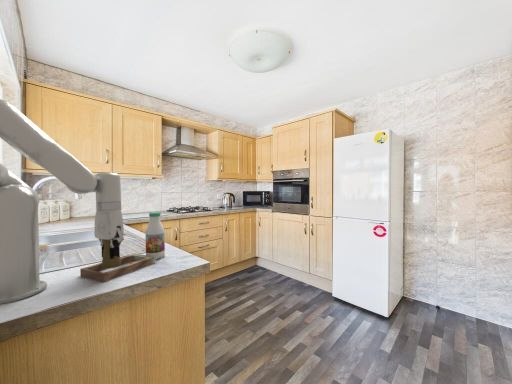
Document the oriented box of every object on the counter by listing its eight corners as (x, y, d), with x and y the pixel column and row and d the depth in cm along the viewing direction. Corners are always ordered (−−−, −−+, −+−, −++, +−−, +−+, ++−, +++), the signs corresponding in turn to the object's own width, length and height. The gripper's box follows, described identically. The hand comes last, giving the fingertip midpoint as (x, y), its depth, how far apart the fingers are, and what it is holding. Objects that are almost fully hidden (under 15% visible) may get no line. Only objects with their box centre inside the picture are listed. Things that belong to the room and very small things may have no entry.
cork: (124, 264, 79) (123, 234, 78) (105, 269, 74) (104, 238, 73) (116, 261, 82) (115, 233, 82) (98, 266, 77) (97, 236, 77)
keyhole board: (103, 282, 69) (103, 274, 69) (80, 275, 75) (80, 268, 75) (155, 262, 88) (155, 256, 87) (133, 259, 93) (133, 253, 93)
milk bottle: (143, 257, 96) (143, 212, 96) (161, 253, 101) (160, 211, 101) (148, 261, 90) (148, 213, 90) (167, 257, 95) (166, 212, 95)
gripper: (84, 207, 77) (85, 257, 78) (112, 208, 70) (114, 263, 71) (105, 205, 84) (107, 251, 85) (134, 206, 77) (135, 256, 78)
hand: (110, 256), depth 78 cm, fingers closed on cork, 3 cm apart
